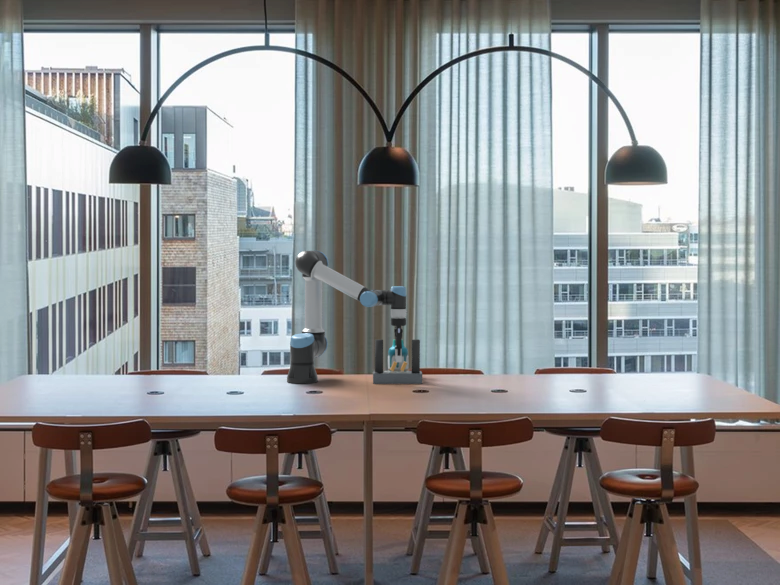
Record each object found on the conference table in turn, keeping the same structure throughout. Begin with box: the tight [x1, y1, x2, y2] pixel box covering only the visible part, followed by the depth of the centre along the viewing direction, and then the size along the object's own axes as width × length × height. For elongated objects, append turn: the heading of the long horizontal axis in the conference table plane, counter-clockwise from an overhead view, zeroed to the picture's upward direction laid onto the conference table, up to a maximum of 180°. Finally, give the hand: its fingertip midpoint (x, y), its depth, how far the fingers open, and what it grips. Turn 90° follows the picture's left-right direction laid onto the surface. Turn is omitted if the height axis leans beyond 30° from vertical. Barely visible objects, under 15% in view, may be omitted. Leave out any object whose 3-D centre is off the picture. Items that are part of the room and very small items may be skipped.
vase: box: [387, 338, 409, 371], centre depth 487 cm, size 11×11×19 cm
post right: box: [411, 338, 421, 373], centre depth 467 cm, size 4×4×16 cm
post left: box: [374, 339, 384, 373], centre depth 467 cm, size 4×4×16 cm
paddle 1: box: [390, 361, 397, 371], centre depth 467 cm, size 2×3×4 cm, turn 2°
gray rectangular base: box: [372, 370, 423, 385], centre depth 467 cm, size 24×10×5 cm, turn 91°
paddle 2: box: [400, 361, 407, 371], centre depth 467 cm, size 2×3×4 cm, turn 2°
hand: (398, 360), depth 467 cm, fingers open, 13 cm apart
